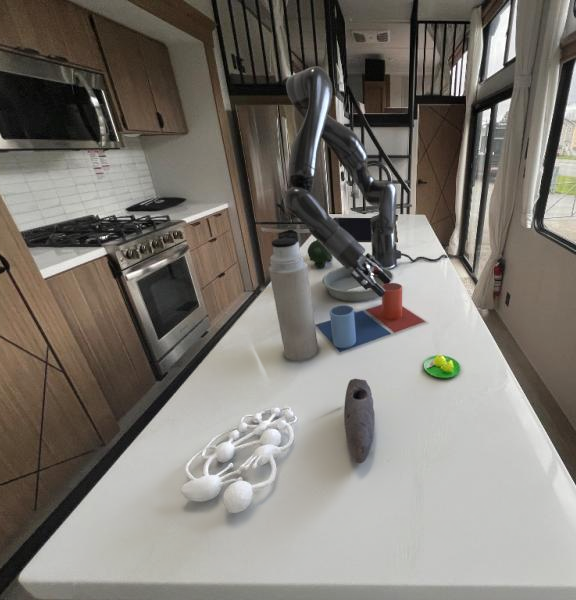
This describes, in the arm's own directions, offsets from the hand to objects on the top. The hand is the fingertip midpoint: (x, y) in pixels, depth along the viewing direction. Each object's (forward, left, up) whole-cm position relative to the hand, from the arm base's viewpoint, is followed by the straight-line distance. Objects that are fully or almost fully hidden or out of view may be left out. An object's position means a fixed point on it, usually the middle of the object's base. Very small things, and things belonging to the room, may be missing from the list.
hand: (386, 288), depth 91 cm
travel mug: (+15, -36, -9) cm, 40 cm away
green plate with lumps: (+3, +28, -9) cm, 29 cm away
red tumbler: (-1, +1, -8) cm, 9 cm away
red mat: (-2, +2, -9) cm, 9 cm away
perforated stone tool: (+27, +34, -9) cm, 44 cm away
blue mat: (+12, +2, -9) cm, 15 cm away
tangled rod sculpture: (+45, +28, -9) cm, 54 cm away
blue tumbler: (+17, +6, -8) cm, 20 cm away
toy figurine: (-4, -56, -9) cm, 57 cm away
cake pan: (-3, -22, -9) cm, 24 cm away
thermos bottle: (+27, +4, -9) cm, 29 cm away
